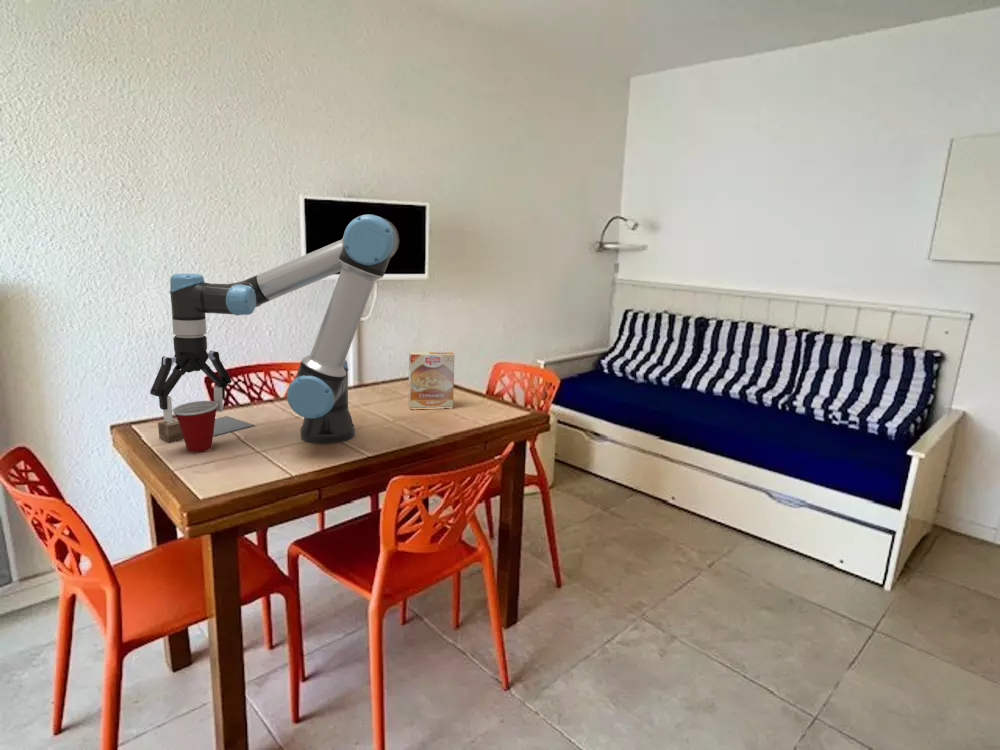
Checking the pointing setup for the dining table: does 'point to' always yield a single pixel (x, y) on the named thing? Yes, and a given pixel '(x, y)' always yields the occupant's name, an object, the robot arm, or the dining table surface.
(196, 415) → the plastic cup
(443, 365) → the coffeecake box
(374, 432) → the dining table surface
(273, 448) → the dining table surface
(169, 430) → the letter block
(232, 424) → the mat
